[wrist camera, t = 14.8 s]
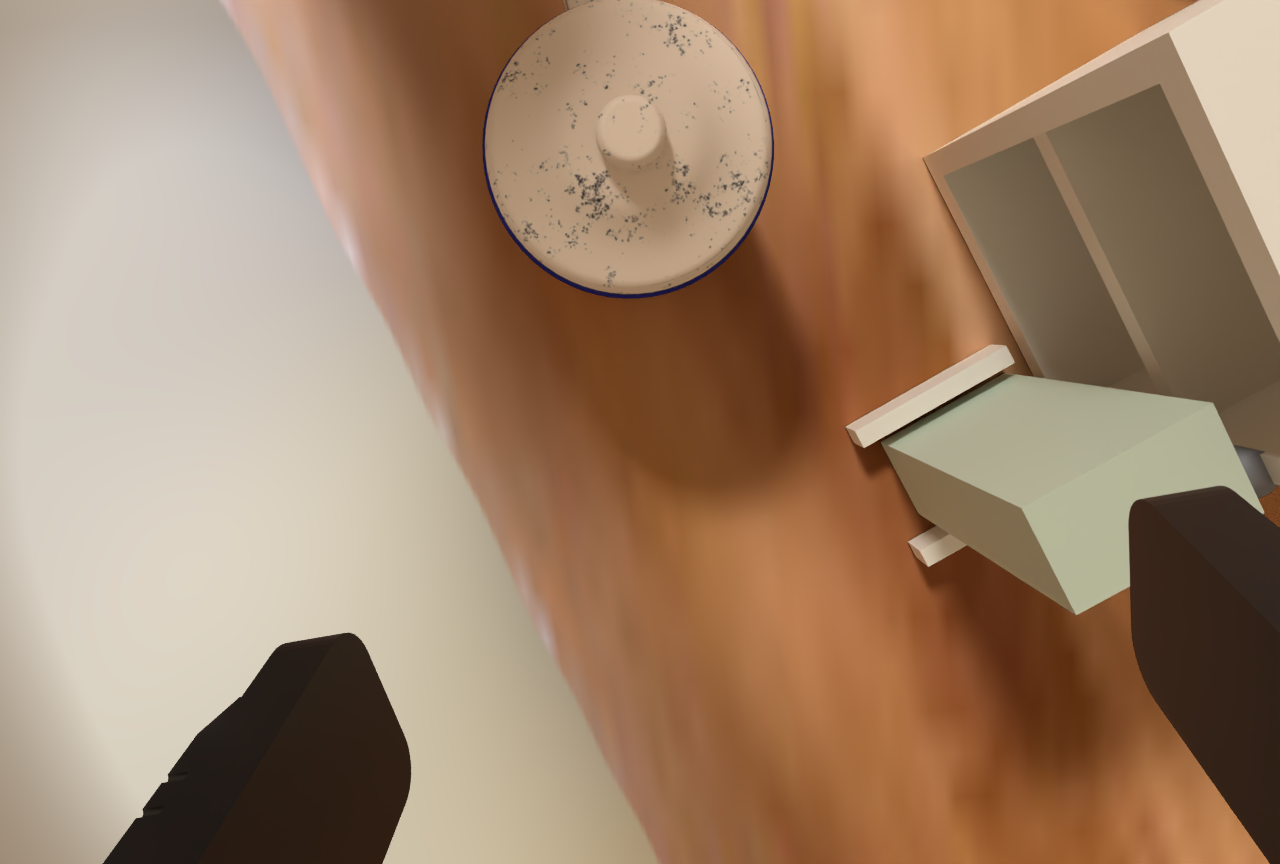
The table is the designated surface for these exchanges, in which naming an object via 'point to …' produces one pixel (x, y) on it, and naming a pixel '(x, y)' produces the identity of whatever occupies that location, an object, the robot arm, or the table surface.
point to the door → (1059, 475)
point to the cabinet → (1132, 230)
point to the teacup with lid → (628, 147)
